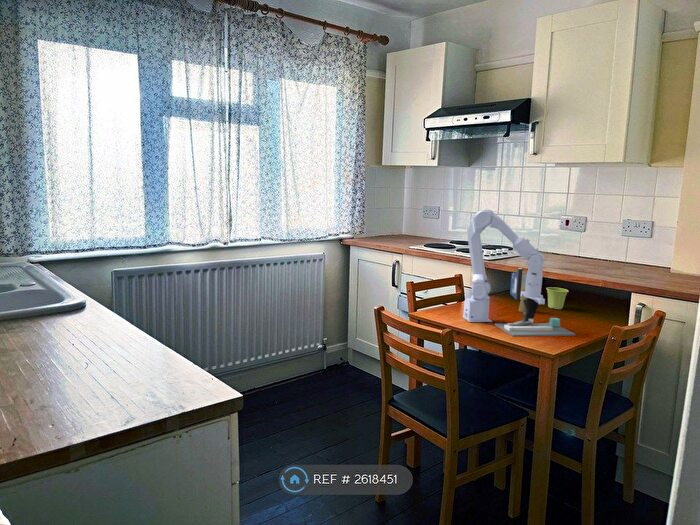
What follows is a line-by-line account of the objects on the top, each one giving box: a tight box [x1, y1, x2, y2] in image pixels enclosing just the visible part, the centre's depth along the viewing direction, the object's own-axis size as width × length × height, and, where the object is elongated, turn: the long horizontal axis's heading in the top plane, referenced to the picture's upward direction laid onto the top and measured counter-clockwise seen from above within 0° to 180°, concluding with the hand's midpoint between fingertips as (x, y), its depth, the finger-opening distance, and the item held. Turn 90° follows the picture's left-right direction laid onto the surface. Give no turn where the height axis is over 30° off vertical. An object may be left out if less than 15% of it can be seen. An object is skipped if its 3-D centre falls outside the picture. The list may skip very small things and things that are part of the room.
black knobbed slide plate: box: [511, 312, 534, 326], centre depth 204 cm, size 14×2×4 cm, turn 133°
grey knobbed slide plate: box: [494, 322, 577, 337], centre depth 199 cm, size 25×15×2 cm, turn 100°
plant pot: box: [546, 286, 569, 310], centre depth 239 cm, size 9×9×9 cm
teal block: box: [548, 317, 561, 327], centre depth 204 cm, size 3×2×3 cm
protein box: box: [509, 268, 527, 301], centre depth 259 cm, size 10×15×16 cm
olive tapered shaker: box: [518, 286, 527, 313], centre depth 230 cm, size 6×6×11 cm
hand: (530, 318), depth 204 cm, fingers closed
